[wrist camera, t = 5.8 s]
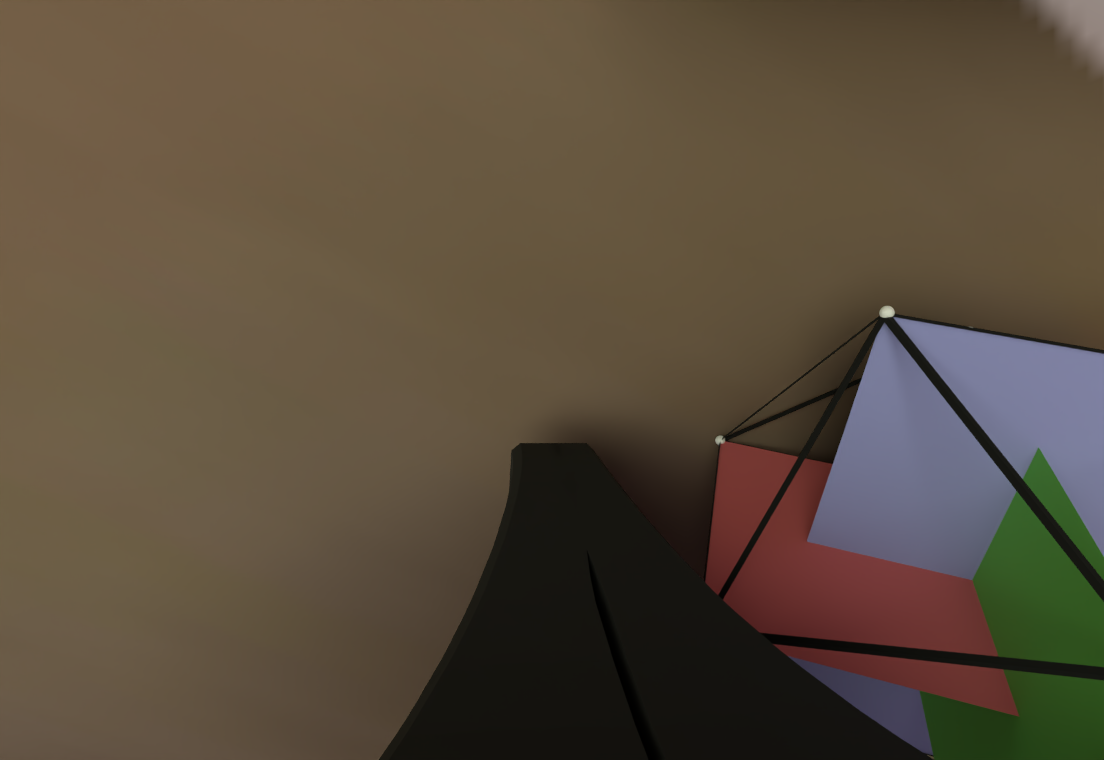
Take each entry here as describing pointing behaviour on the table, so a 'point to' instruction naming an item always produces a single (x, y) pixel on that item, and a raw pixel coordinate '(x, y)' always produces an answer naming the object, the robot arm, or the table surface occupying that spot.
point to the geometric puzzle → (937, 542)
